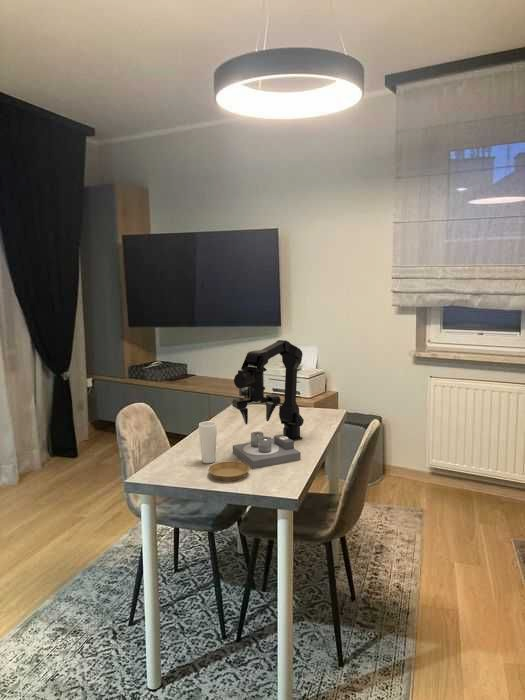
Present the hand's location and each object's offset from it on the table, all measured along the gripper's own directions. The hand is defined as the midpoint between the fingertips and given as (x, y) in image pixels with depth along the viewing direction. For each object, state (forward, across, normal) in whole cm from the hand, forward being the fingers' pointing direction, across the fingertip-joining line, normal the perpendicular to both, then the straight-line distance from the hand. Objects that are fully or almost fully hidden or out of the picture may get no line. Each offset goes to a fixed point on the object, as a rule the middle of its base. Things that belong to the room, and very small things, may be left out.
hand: (256, 422), depth 208 cm
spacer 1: (+10, 0, 0) cm, 10 cm away
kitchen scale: (+13, -2, +4) cm, 14 cm away
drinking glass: (+13, +20, -2) cm, 24 cm away
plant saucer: (+14, +18, +14) cm, 27 cm away
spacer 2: (+10, 0, +7) cm, 12 cm away
